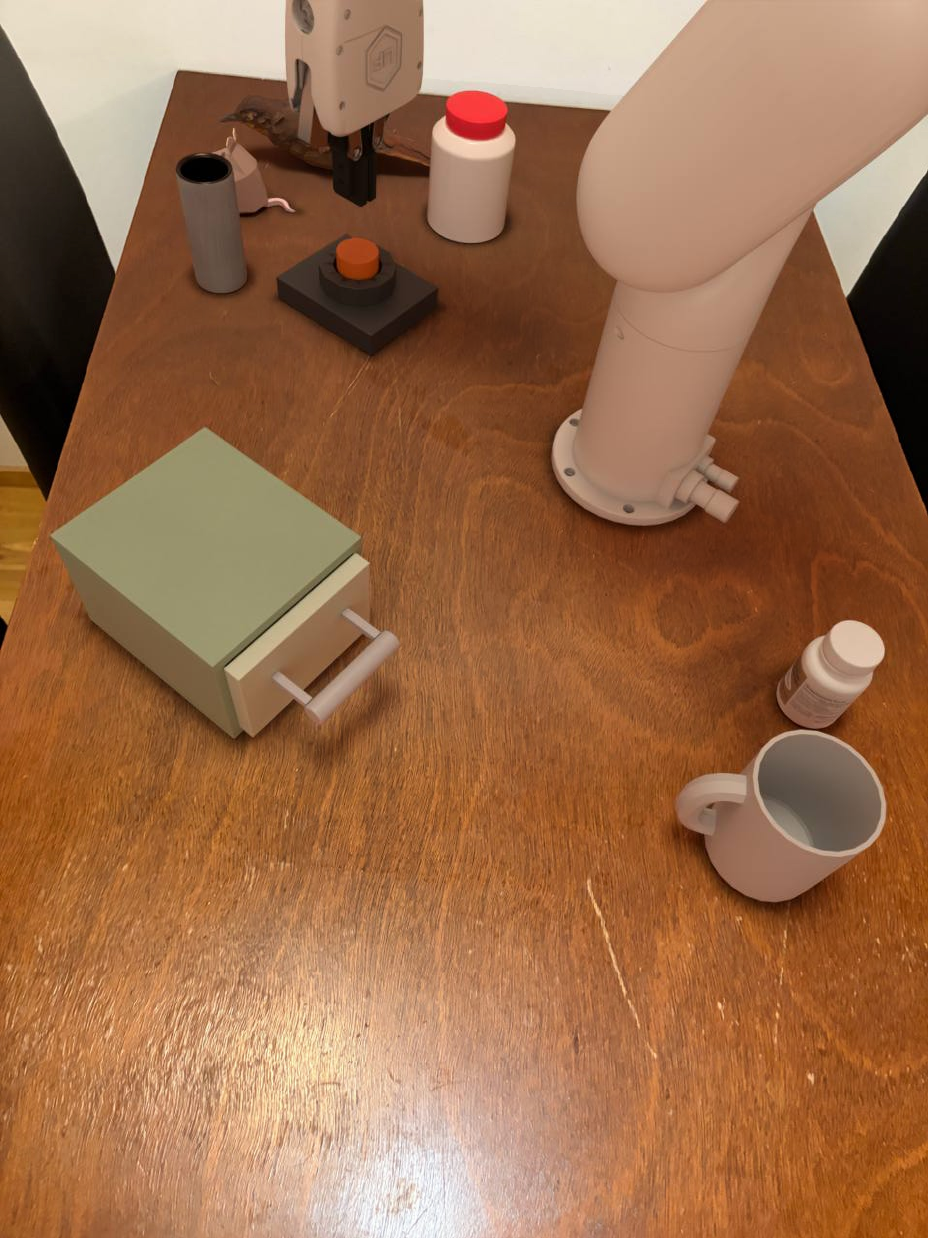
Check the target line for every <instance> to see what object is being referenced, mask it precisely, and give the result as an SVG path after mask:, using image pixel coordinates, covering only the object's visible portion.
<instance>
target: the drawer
mask: <svg viewBox="0 0 928 1238" xmlns="http://www.w3.org/2000/svg"><path fill="white" fill-rule="evenodd" d="M370 566H371V563H370V562H369V560H367V559H365V558H364V557H363V556H362V557H361V556H360V555H358V554H357V553H354V554H353V555H352V556H351V557H350V558H349V559H348V560H347V561H345V562H344V563H343V564H342V565H341V566H340V567H339V568H337V569H336V570H335V571H334V572H333V571H331V572H330V573H329V574H328V575H327V576H326V577H325V578H324V579H322V580H321V581H320V582H319V583H318V584H317V585H316V586H314V587H313V588H312V589H311V590H310V591H309V592H308V593H306V594H305V595H304V596H303V597H302V598H301V599H300V600H298V601H297V602H296V603H295V604H294V605H293V606H292V607H291V608H289V609H288V610H287V611H286V612H285V613H284V614H283V615H281V616H280V617H279V618H278V619H277V620H276V621H275V622H273V623H272V624H271V625H270V626H269V627H268V628H267V629H265V630H264V631H263V632H262V633H261V634H260V635H259V636H258V637H256V638H255V639H254V640H253V641H252V642H251V643H250V644H248V645H247V646H246V647H245V648H244V649H243V650H242V651H240V652H239V653H238V654H237V655H236V656H235V657H234V658H232V659H231V660H230V661H229V662H228V663H227V664H226V665H225V668H224V671H225V675H226V679H227V682H228V686H229V689H230V693H231V697H232V700H233V704H234V707H235V711H236V715H237V718H238V722H239V725H240V727H241V728H242V729H243V732H245V733H247V734H248V735H249V736H250V737H252V738H255V736H256V735H258V733H260V732H261V731H262V730H263V729H264V728H265V727H266V726H267V725H268V724H269V723H270V722H271V721H272V720H273V719H274V718H276V716H278V714H280V713H281V712H282V711H283V710H284V709H285V708H286V707H287V706H288V705H289V704H290V703H291V702H292V701H293V700H295V701H296V702H297V703H298V704H299V705H301V706H302V707H303V710H304V713H305V715H306V716H307V717H308V718H309V719H310V720H311V721H312V722H314V723H315V724H316V725H319V726H322V725H323V724H324V723H325V722H326V721H327V720H328V719H329V718H330V717H331V716H332V715H333V714H334V713H336V711H337V710H338V709H339V708H340V707H341V706H342V705H343V704H344V703H345V702H347V700H349V698H351V696H353V694H355V692H357V690H358V689H359V688H361V686H363V684H365V683H366V682H367V681H368V679H370V677H371V676H373V674H374V673H375V672H376V671H378V670H379V669H380V667H381V666H382V665H384V664H385V662H387V661H388V660H389V659H390V658H391V657H392V656H393V655H394V654H395V653H396V652H397V651H398V650H399V649H400V647H401V641H400V640H399V639H398V637H397V636H396V635H395V634H394V633H392V632H391V631H389V630H383V631H382V632H381V631H380V630H379V629H377V628H376V627H375V626H373V625H372V624H371V615H370V614H371V597H370V596H371V588H370V587H371V586H370V585H371V581H370V579H371V578H370V577H371V575H370V574H371V570H370V569H371V567H370ZM362 635H364V637H366V638H368V639H369V640H370V641H371V642H370V644H369V645H367V646H366V647H365V648H364V649H363V650H362V651H361V652H360V653H359V654H358V655H357V656H356V657H355V658H354V659H353V660H352V661H351V662H350V663H349V664H348V665H347V666H345V668H344V669H342V671H340V672H339V674H337V675H336V676H335V677H334V678H333V679H332V680H331V681H330V682H329V683H328V684H327V685H326V686H324V688H323V689H322V690H321V691H320V692H318V693H317V695H315V696H314V697H312V696H311V695H310V694H308V693H307V692H306V691H305V689H306V688H307V687H308V686H309V685H310V684H311V683H312V682H313V681H315V680H316V679H317V677H318V676H319V675H321V673H323V672H324V671H325V670H326V669H327V668H328V667H329V666H330V665H331V664H332V663H334V661H335V660H337V659H338V658H339V656H341V655H342V654H343V653H344V652H345V651H346V650H347V649H348V648H349V647H350V646H351V645H353V643H355V641H356V640H358V639H359V637H361V636H362Z"/></svg>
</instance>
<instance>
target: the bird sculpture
mask: <svg viewBox="0 0 928 1238" xmlns="http://www.w3.org/2000/svg"><path fill="white" fill-rule="evenodd" d="M299 117H300V115H297V114H295V113H294V112H293V111H292V109H291V106H290V102H289V98H276V97H275V98H270V97H267V96H263V95H250V94H247V96H245V97H244V98H243V99H242V100H241V101H240V103H239V104H238V105H237V107H236V109H235V111H234V112H232V113H229V114H227V115H224V116H222V117H221V118H219V119H217V120H216V123H233V122H234V123H235V122H238V123H239V124H243V125H245V126H246V127H248V128H250V129H251V130H254V131H255V132H257V133H259V134H261V135H263V136H265V137H266V138H267V139H268V140H269V141H270V142H271V144H273V146H275V147H278V148H279V149H281V150H284V151H285V152H288V153H289V154H290V155H291V156H294V157H295V158H297V159H299V160H301V161H303V162H304V163H305V164H308V165H310V166H313V167H315V168H321V169H326V170H330V171H333V167H332V148H330V147H328V146H326V147H321V148H316V149H312V148H310V147H308V146H306V145H304V144H303V143H301V142H299V141H298V126H299ZM396 131H397V128H396V129H393V130H392V131H390V130H389V129H386V128H384V136H383V142H382V145H381V146H380V148H379V149H375V152H377V155H386V156H389V157H392V158H399V159H402V160H407V161H410V162H415V163H419V164H423V165H424V166H425V167H428V168H430V157H431V148H429V147H428V146H424V145H423V144H420V143H417V141H416V140H414V139H412V138H410V137H409V138H408V137H405V136H402V135H398V134H396V133H395V132H396Z"/></svg>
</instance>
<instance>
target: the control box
mask: <svg viewBox="0 0 928 1238" xmlns="http://www.w3.org/2000/svg"><path fill="white" fill-rule="evenodd" d="M350 238H354V237H353V236H351V235H350V234H347V233H345V234H343V235H341V236H340V237H338V238H337V239H335V240H334V241H332V242H330V243H329V244H327V245H326V246H324V247H322V248H321V249H320V250H317V251H316V252H315V253H313V254H311V255H310V256H308V257H306V258H304V259H303V260H302V261H300V262H299V263H297V264H295V265H293V266H292V267H290V268H289V269H287V270H286V271H283V273H281V274H279V275H277V276H276V278H275V279H276V289H277V297H278V299H279V300H280V301H283V303H286V305H289V306H290V307H292V308H293V309H295V310H297V311H298V312H300V313H301V314H303V315H304V316H306V317H308V318H309V319H310V320H313V321H314V322H315V323H318V324H319V325H321V326H322V327H324V328H325V329H326V330H329V331H330V332H332V333H333V334H334V335H337V337H340V338H341V339H343V340H344V341H346V342H348V343H349V344H351V345H352V346H354V347H356V348H358V349H359V350H361V351H362V352H364V353H366V354H367V355H368V356H371V357H372V356H374V355H375V354H376V353H377V352H379V351H380V350H382V349H383V348H384V347H386V346H387V345H388V344H390V343H391V342H392V341H394V340H396V338H398V337H399V336H401V335H402V334H404V333H405V332H406V331H408V330H409V329H410V328H413V326H415V325H416V324H417V323H419V322H420V321H422V320H423V319H424V318H425V317H426V316H428V315H430V314H431V313H432V312H433V311H435V310H436V309H437V308H438V300H439V299H438V298H439V287H438V286H437V285H435V284H433V283H432V282H430V281H428V280H427V279H425V278H423V277H421V276H420V275H418V274H417V273H415V272H413V271H411V270H409V269H407V268H406V267H404V266H402V265H401V264H399V263H397V262H396V261H395V259H394V257H393V255H392V254H391V252H390V251H388V250H386V249H385V248H383V247H381V246H380V245H378V244H376V243H374V244H375V245H376V246H377V248H378V250H379V270H378V273H377V274H376V275H375V276H374V277H373V278H369V279H363V280H355V279H349V278H346V277H344V276H342V275H341V274H340V273H339V272H338V270H337V259H336V249H337V246H338V245H339V244H340V243H341V242H342V241H344V240H346V239H350Z"/></svg>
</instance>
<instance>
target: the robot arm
mask: <svg viewBox="0 0 928 1238" xmlns="http://www.w3.org/2000/svg"><path fill="white" fill-rule="evenodd" d="M284 12H285V14H284V20H285V21H284V57H285V79H286V88H287V95H288V99H289V102H290V106H291V109H292V111H293V112H294V113H295V114H297V115H300V117H299V126H298V141H299V142H301V143H303V144H304V145H306V146H308V147H310V148H312V149H316V148H321V147H326V146H328V147H330V148H332V167H333V170H332V188H333V192H334V193H335V195H338V196H340V197H342V199H345V200H347V201H348V202H350V203H352V204H354V205H355V206H357V207H358V208H363V207H364V206H366V205H368V203H370V202H373V201H374V200H376V199H377V180H378V179H377V172H378V171H377V169H378V168H377V167H378V165H377V164H378V154H377V152H375V149H379V148H380V146H381V145H382V142H383V136H384V129H385V127H386V123H387V121H388V118H389V116H390V114H391V113H392V112H394V111H396V110H398V109H400V108H401V107H403V106H405V105H407V104H408V103H410V102H411V101H412V100H414V99H415V98H416V97H417V96H418V94H419V93H420V91H421V90H422V84H423V75H424V57H425V56H424V55H425V53H424V52H425V21H424V20H425V15H424V13H425V12H424V0H285V11H284ZM927 116H928V0H706V1H705V2H704V3H703V5H702V6H701V7H700V8H699V9H698V11H696V12H695V14H694V15H693V16H692V17H691V19H690V20H689V21H688V22H687V23H686V24H685V25H684V26H683V28H682V29H681V30H680V31H679V32H678V33H677V35H676V36H674V38H673V39H672V40H671V42H670V43H668V45H667V46H666V47H665V48H664V50H663V51H662V52H661V53H660V54H659V55H658V56H657V57H656V59H655V60H654V61H653V62H652V63H651V64H650V66H649V67H648V68H647V69H646V70H645V71H644V72H643V73H642V74H641V76H639V78H638V79H637V80H636V82H635V83H634V84H633V85H632V86H631V87H630V88H629V90H628V91H627V92H626V93H625V94H624V95H623V97H622V98H621V99H619V101H618V102H617V103H616V105H615V106H614V107H613V108H612V109H611V111H609V113H608V114H607V115H606V117H605V118H604V119H603V120H602V122H601V124H600V126H598V128H597V129H596V131H595V132H594V134H593V136H592V137H591V140H590V141H589V143H588V145H587V148H586V149H585V151H584V155H583V158H582V160H581V164H580V167H579V172H578V177H577V184H576V195H575V196H576V197H575V198H576V200H575V202H576V203H575V204H576V215H577V223H578V226H579V230H580V234H581V236H582V240H583V241H584V244H585V246H586V249H587V250H588V252H589V254H590V255H591V257H592V258H593V260H594V261H595V262H596V263H597V265H598V266H599V267H600V268H601V269H602V270H603V271H604V272H605V273H606V274H607V275H609V276H610V277H612V278H613V279H614V280H616V284H615V286H614V289H613V293H612V296H611V301H610V305H609V308H608V312H607V315H606V320H605V323H604V327H603V330H602V334H601V338H600V341H599V346H598V349H597V353H596V356H595V361H594V362H593V363H594V364H593V368H592V371H591V374H590V378H589V383H588V386H587V390H586V393H585V397H584V400H583V405H582V408H580V409H578V410H576V411H575V412H574V413H572V414H570V415H569V416H568V417H567V418H566V419H565V420H563V422H562V423H560V426H559V427H558V429H557V431H556V433H555V435H554V438H553V442H552V447H551V452H550V453H551V454H550V459H551V465H552V466H551V467H552V470H553V473H554V476H555V478H556V480H557V482H558V483H559V485H560V487H561V488H562V489H563V491H564V492H565V493H566V494H567V495H568V496H569V497H570V498H571V499H572V501H574V502H575V503H576V504H578V506H581V507H582V508H583V509H585V510H586V511H588V512H590V513H592V514H594V515H596V516H597V517H600V518H603V519H606V520H608V521H611V522H613V523H619V524H623V525H627V526H641V527H643V526H656V525H662V524H666V523H668V522H672V521H674V520H677V519H679V518H681V517H683V516H685V515H686V514H687V513H689V512H690V511H691V510H692V509H694V508H695V506H696V505H697V506H698V507H700V508H702V509H703V510H704V512H705V513H707V514H709V516H712V517H713V518H715V519H717V520H718V521H719V522H722V523H723V524H725V523H727V522H728V521H729V519H730V518H731V516H732V515H733V514H734V513H735V511H736V509H737V508H738V506H739V504H740V501H739V500H738V499H737V498H735V497H733V496H731V495H730V493H731V492H732V491H733V489H734V488H735V486H736V485H737V484H738V482H739V480H740V477H738V476H737V475H735V474H733V473H732V472H730V471H729V470H726V469H723V468H721V467H720V466H718V465H717V464H715V463H714V462H715V459H714V458H712V457H710V454H711V452H712V450H713V448H714V446H715V443H716V441H717V439H716V438H715V437H714V436H712V435H710V434H709V432H710V429H711V428H712V425H713V422H714V421H715V418H716V416H717V414H718V411H719V410H720V407H721V405H722V402H723V400H724V397H725V395H726V393H727V391H728V389H729V386H730V384H731V381H732V379H733V377H734V375H735V373H736V370H737V368H738V366H739V364H740V361H741V359H742V357H743V354H744V352H745V350H746V348H747V345H748V343H749V341H750V339H751V336H752V334H753V332H754V330H755V329H756V326H757V324H758V322H759V319H760V317H761V316H762V312H763V310H764V309H765V306H766V304H767V302H768V299H769V297H770V295H771V293H772V291H773V288H774V287H775V284H776V282H777V280H778V279H779V276H780V273H781V272H782V270H783V268H784V265H785V264H786V262H787V260H788V258H789V256H790V254H791V252H792V250H793V248H794V246H795V244H796V243H797V241H798V239H799V237H800V235H801V233H802V231H803V230H804V228H805V226H806V225H807V222H808V221H809V219H810V217H811V215H812V213H813V212H814V210H815V208H816V207H817V204H818V203H819V202H820V201H822V200H823V199H825V198H826V197H828V196H829V195H830V194H832V192H834V191H835V190H836V189H838V188H840V187H841V186H842V185H843V184H844V183H846V182H847V181H849V180H850V179H852V177H853V176H855V175H856V174H858V173H859V172H860V171H862V170H863V169H865V168H866V167H867V166H868V165H869V164H871V163H872V162H873V161H875V160H876V159H877V158H878V157H880V156H881V155H882V154H883V153H885V152H886V151H888V150H889V149H890V148H891V147H893V145H894V144H896V143H897V142H898V141H899V140H900V139H902V138H903V137H904V136H905V135H906V134H907V133H908V132H910V131H911V130H912V129H913V128H915V127H916V126H917V125H918V124H919V123H920V122H921V121H922V120H923V119H924V118H925V117H927ZM708 481H710V482H711V483H713V484H714V485H715V486H717V487H718V489H716V488H715V487H713V486H711V485H710V484H709V483H708ZM719 488H720V489H719ZM726 492H727V493H726Z"/></svg>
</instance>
